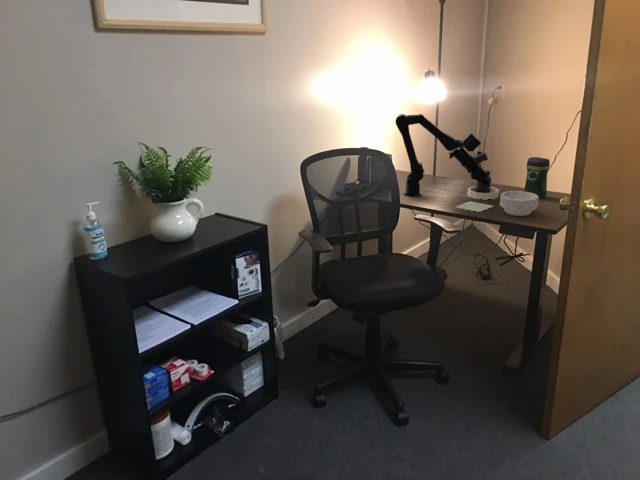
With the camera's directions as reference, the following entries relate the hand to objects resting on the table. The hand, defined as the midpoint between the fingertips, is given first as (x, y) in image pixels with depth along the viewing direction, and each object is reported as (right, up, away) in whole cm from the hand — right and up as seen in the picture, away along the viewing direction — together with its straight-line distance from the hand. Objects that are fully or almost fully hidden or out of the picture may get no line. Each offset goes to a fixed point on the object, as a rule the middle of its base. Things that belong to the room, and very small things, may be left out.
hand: (486, 181), depth 248 cm
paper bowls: (+5, -16, -25) cm, 30 cm away
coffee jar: (+22, -7, -2) cm, 23 cm away
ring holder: (-1, -6, +2) cm, 7 cm away
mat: (-10, -13, -15) cm, 23 cm away
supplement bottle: (-1, -6, +3) cm, 7 cm away
